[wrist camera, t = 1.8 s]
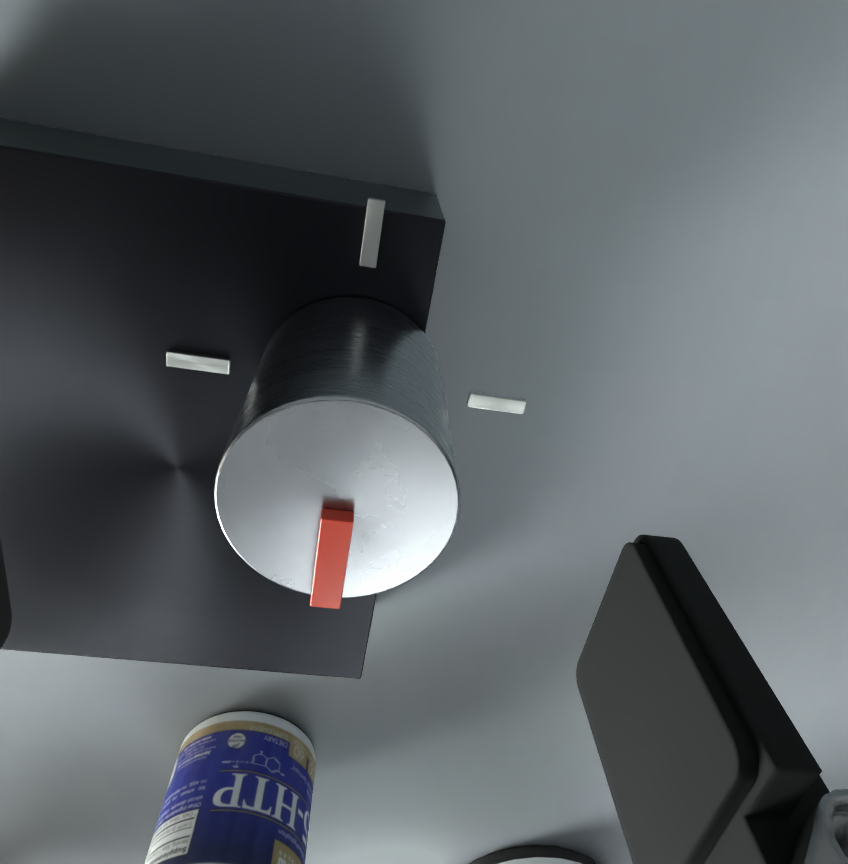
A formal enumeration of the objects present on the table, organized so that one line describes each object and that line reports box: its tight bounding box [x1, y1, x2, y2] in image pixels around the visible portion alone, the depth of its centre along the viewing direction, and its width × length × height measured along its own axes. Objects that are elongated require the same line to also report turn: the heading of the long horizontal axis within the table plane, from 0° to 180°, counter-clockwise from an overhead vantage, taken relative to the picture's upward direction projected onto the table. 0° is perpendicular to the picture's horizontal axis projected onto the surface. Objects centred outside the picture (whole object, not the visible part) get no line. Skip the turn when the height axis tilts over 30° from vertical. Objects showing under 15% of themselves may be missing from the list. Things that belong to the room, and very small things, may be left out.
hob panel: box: [0, 118, 527, 679], centre depth 18 cm, size 14×14×3 cm
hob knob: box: [214, 297, 460, 609], centre depth 14 cm, size 4×4×5 cm
